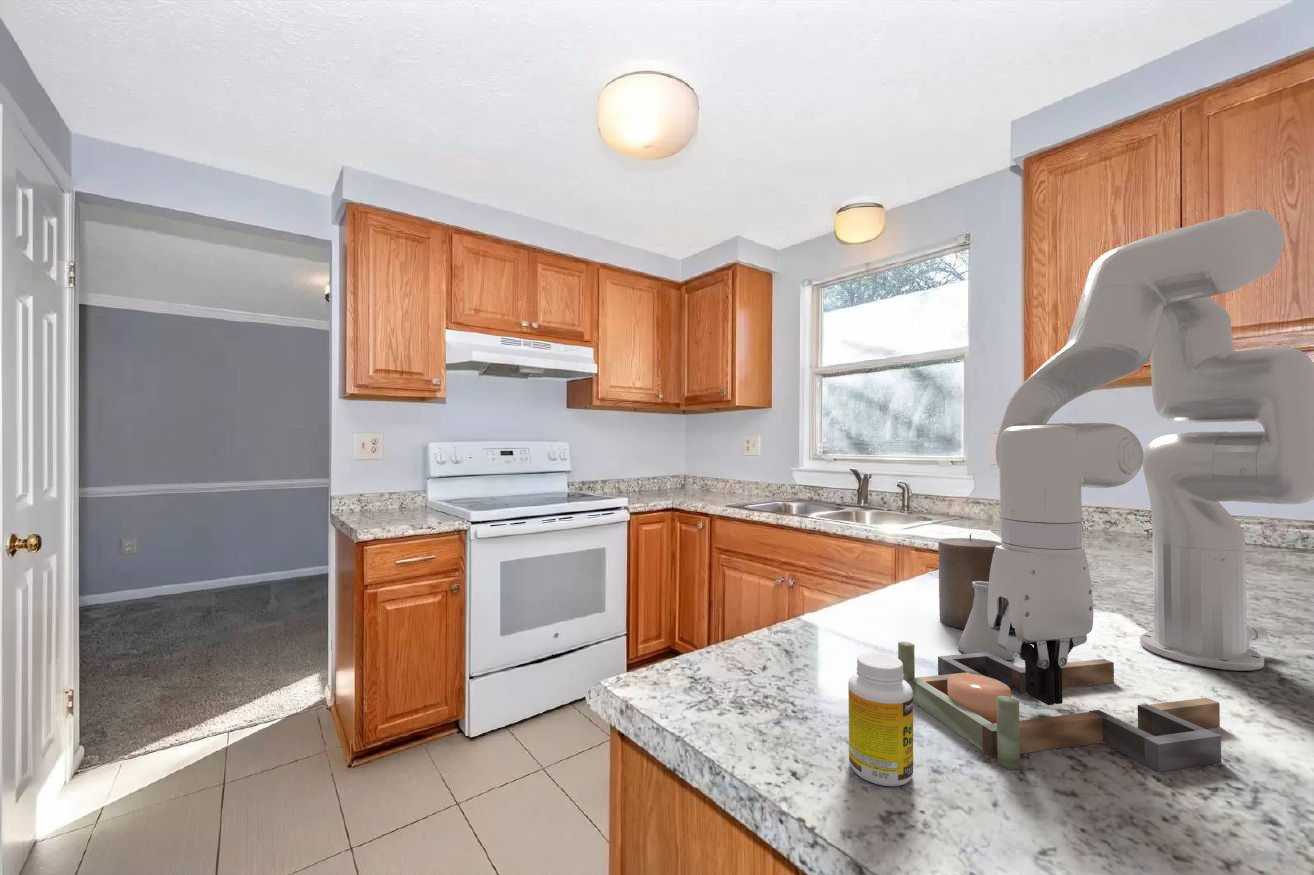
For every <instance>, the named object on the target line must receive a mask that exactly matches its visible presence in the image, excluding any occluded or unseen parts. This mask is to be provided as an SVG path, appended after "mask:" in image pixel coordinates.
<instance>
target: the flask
mask: <svg viewBox="0 0 1314 875" xmlns="http://www.w3.org/2000/svg"><path fill="white" fill-rule="evenodd" d="M972 586H973V587H974V590H975V597H974V602H973V608H972V610H971V613H970V616H969V619H968V621H967V624H966V627H965V629H963V631H962V633H961V637H960V639H959V641H958V647H957V650H958V651H960V652H962V653H963V654H970V653H981V652H988V653H990V654H992V655H994V656H996V657H999V658H1001V659H1003V660H1005V661H1013V660H1014V661H1015V657H1014V652H1011V651H1008V650H1005V649H1003V648H1001V647H999V646H998V637H999V632H1000V631H996V630H993V629H991V628H990V627H989V624H988V589H989V582H983V581H975V582H972Z"/></svg>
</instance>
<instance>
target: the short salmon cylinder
mask: <svg viewBox="0 0 1314 875" xmlns="http://www.w3.org/2000/svg"><path fill="white" fill-rule="evenodd" d="M948 696H949V697H950V698H952V699H954V700H955V701H957V702H958V703H960V704H962V705H963V706H965V707H967V708H968V709H970V710H971V711H973V712H975V713H976V714H978V715H979V716H981V717H983V718H984V719H986V720H987V721H989V722H991V723H992V724H995V723H997V697H998V696H1008V697H1012V690H1011V689H1010V688H1009V687H1008V686H1007V685H1006V684H1004V683H1002V682H1000V681H998V680H995V679H993V678H989V677H986V676H981V675H975V674H954V675H951V676H949V677H948Z"/></svg>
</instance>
